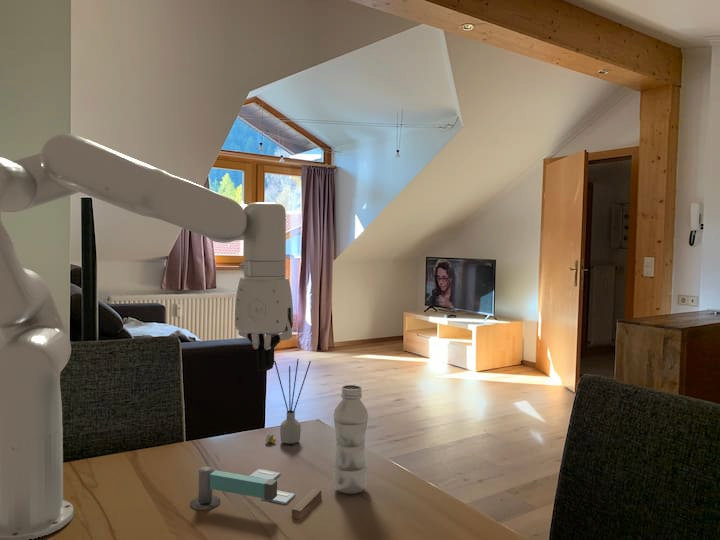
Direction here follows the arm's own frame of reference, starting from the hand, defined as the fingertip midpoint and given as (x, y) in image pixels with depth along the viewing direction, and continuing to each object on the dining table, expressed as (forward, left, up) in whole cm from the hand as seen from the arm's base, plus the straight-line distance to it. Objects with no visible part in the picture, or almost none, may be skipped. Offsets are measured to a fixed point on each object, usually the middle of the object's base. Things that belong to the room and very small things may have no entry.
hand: (265, 369), depth 101 cm
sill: (+10, -1, -24) cm, 26 cm away
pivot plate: (-8, -7, -24) cm, 26 cm away
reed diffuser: (-8, +24, -24) cm, 35 cm away
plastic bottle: (+14, +8, -24) cm, 29 cm away
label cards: (0, +3, -24) cm, 24 cm away
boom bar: (-1, -7, -23) cm, 24 cm away
